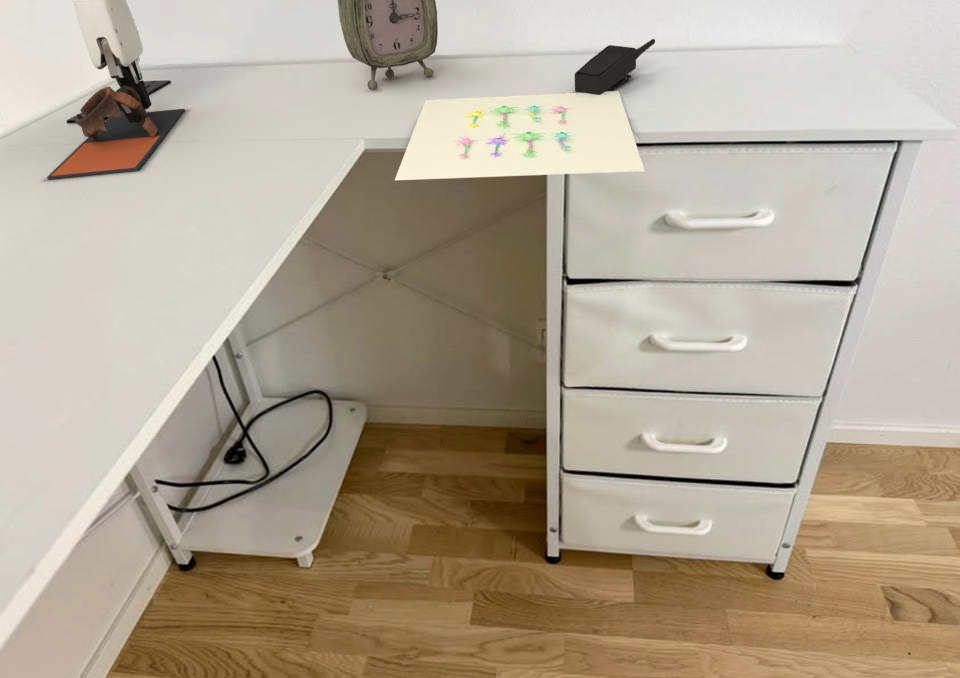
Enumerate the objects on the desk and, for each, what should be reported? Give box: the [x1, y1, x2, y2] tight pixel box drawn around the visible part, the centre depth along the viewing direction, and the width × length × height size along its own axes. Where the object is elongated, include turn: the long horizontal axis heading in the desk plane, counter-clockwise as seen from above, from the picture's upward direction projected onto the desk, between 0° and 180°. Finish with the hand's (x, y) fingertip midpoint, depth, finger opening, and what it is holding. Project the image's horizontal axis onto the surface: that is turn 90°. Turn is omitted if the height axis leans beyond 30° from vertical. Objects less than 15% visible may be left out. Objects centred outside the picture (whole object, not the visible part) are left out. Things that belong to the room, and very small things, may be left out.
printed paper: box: [394, 90, 645, 181], centre depth 93 cm, size 30×30×2 cm
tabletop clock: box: [337, 0, 439, 91], centre depth 112 cm, size 14×9×25 cm, turn 120°
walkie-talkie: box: [574, 38, 656, 95], centre depth 109 cm, size 6×6×20 cm
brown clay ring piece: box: [74, 86, 158, 140], centre depth 101 cm, size 12×10×8 cm
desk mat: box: [46, 108, 186, 181], centre depth 102 cm, size 12×26×1 cm, turn 6°
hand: (140, 108), depth 109 cm, fingers closed
